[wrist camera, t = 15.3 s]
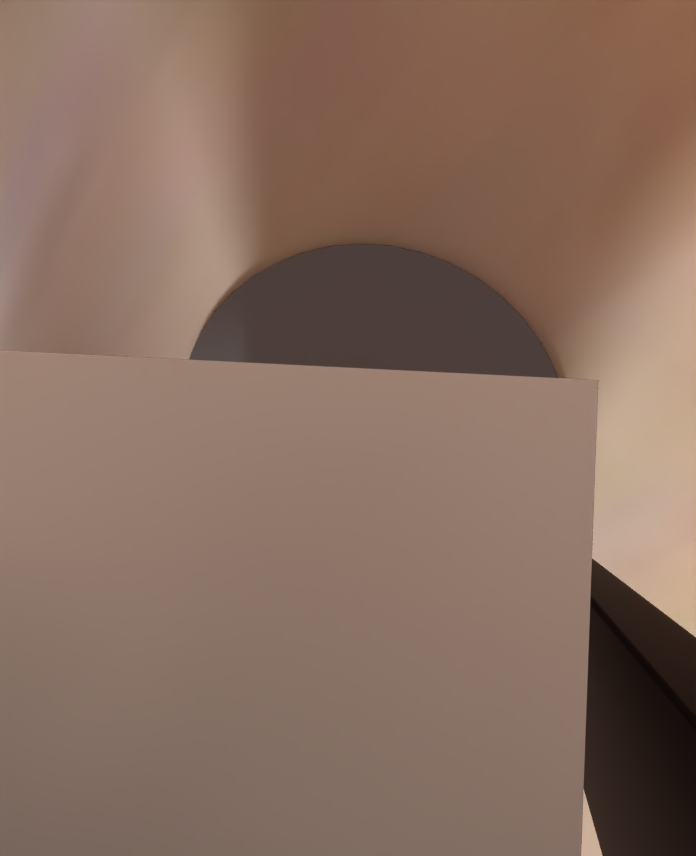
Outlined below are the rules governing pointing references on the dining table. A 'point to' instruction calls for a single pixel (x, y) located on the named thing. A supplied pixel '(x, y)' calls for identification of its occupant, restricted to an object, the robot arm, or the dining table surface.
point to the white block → (291, 609)
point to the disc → (372, 317)
